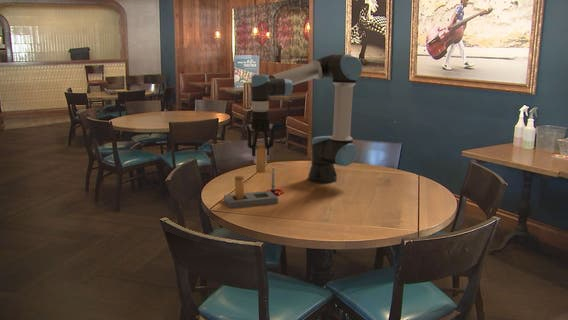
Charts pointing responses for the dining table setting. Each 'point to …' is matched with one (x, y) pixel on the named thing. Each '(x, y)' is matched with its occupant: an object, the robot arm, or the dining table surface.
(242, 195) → the cylinder
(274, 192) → the tow hook
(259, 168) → the peg
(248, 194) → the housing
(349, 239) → the dining table surface
